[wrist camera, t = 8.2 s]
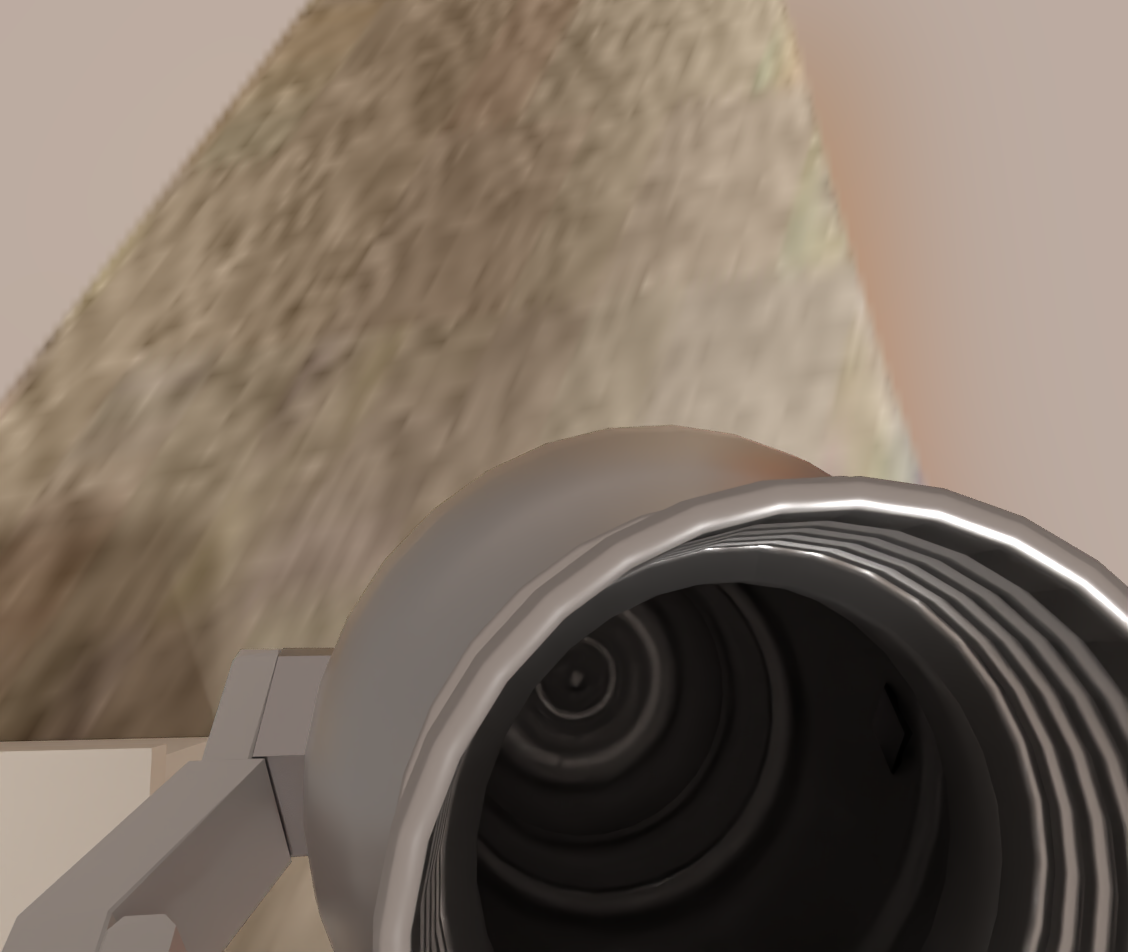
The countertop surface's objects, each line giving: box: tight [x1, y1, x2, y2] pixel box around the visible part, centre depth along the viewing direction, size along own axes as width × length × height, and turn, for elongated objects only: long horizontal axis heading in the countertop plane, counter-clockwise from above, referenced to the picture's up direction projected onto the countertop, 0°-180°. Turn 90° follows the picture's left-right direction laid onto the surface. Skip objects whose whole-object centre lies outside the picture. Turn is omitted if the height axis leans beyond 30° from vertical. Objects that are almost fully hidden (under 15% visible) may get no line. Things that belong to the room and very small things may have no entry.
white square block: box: [0, 737, 209, 952], centre depth 31 cm, size 10×10×8 cm
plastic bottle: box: [303, 425, 1128, 952], centre depth 13 cm, size 6×7×20 cm
